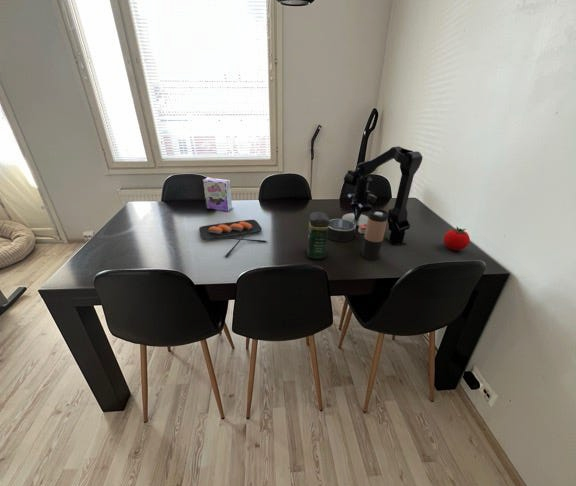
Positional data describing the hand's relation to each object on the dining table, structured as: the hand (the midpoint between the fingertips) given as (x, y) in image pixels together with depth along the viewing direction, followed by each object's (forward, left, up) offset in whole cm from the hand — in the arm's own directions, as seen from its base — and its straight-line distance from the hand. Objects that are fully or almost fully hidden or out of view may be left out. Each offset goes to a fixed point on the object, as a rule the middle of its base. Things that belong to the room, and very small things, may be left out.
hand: (356, 217), depth 155 cm
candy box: (+30, +71, -3) cm, 77 cm away
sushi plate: (-9, +65, -3) cm, 66 cm away
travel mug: (-34, +8, -3) cm, 35 cm away
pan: (-13, +14, -2) cm, 19 cm away
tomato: (-35, -33, -3) cm, 48 cm away
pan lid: (0, 0, -1) cm, 1 cm away
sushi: (-12, 0, -2) cm, 12 cm away
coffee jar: (-29, +31, -3) cm, 43 cm away
